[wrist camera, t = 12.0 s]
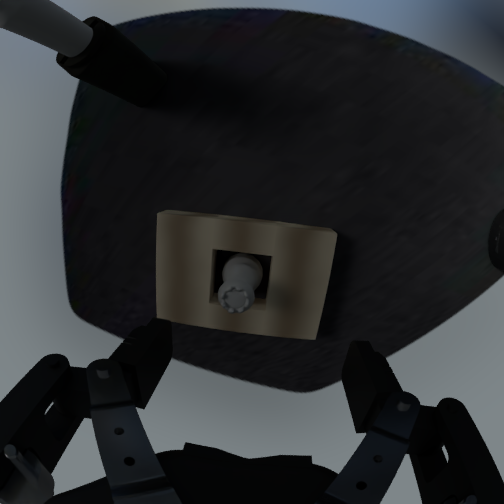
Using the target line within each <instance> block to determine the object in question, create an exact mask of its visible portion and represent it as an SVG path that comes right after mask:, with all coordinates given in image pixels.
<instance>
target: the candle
mask: <svg viewBox="0 0 504 504" xmlns="http://www.w3.org/2000/svg"><path fill="white" fill-rule="evenodd" d="M0 28H3V29H6V30H9V31H11V32H14V33H16V34H18V35H21V36H23V37H26V38H28V39H30V40H33V41H35V42H38V43H40V44H42V45H44V46H46V47H49V48H51V49H53V50H55V51H57V52H58V54H57V57H56V61H57V63H58V64H59V65H60V66H61V67H62V68H63V69H65V70H66V71H67V72H68V73H69V74H70V75H71V76H73V77H75V78H78V79H80V80H82V81H85V82H87V83H89V84H92V85H94V86H96V87H98V88H100V89H103V90H105V91H107V92H109V93H111V94H113V95H115V96H118V97H120V98H122V99H124V100H126V101H128V102H130V103H132V104H134V105H136V106H139V107H142V106H145V105H147V104H148V103H149V102H150V100H151V99H152V98H153V97H154V96H155V95H156V94H157V92H158V91H159V90H160V89H161V88H162V87H163V86H164V85H165V83H166V82H167V74H166V73H165V72H164V71H163V70H162V69H161V68H160V67H159V66H158V65H156V64H155V63H154V62H153V61H152V60H151V59H150V58H149V57H148V56H147V55H146V54H144V53H143V52H142V51H141V50H140V49H139V48H138V47H137V46H136V45H134V44H133V43H132V42H131V41H130V40H129V39H128V38H127V37H125V36H124V35H123V34H122V33H121V32H120V31H118V30H117V29H116V28H115V27H114V26H112V25H111V24H109V23H107V22H105V21H103V20H101V19H100V18H98V17H95V16H93V17H90V18H87V19H86V20H84V21H80V20H79V19H77V18H76V17H75V16H73V15H72V14H70V13H69V12H67V11H65V10H64V9H62V8H61V7H59V6H58V5H56V4H55V3H53V2H51V1H50V0H0Z"/></svg>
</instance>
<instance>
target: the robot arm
mask: <svg viewBox="0 0 504 504" xmlns="http://www.w3.org/2000/svg"><path fill="white" fill-rule="evenodd" d="M489 256H490V259H491V262H492V264H493V265H494V266H495V267H496V268H498V269H500V270H502V271H504V210H502V211H501V212H500V213H499V214H498V215H497V216H496V218H495V220H494V222H493V225H492V227H491V231H490V235H489ZM172 351H173V347H172V328H171V321H170V320H167V319H161V318H156V317H154V318H152V320H151V321H150V322H149V323H148V324H147V326H140V327H138V328H136V329H134V330H133V331H132V332H131V333H130V334H129V335H128V336H127V338H126V339H125V340H124V341H123V343H121V344H120V346H119V347H118V348H117V349H116V350H115V351H114V352H113V354H112V355H111V356H110V357H109V358H108V359H99V360H95V361H93V362H91V363H90V364H89V365H88V367H87V368H81V367H71V366H70V364H69V361H68V359H67V358H66V357H65V356H63V355H61V354H50V355H47V356H45V357H43V358H42V359H41V360H40V361H39V362H38V363H37V364H36V365H35V366H34V367H33V368H32V369H31V370H30V371H29V372H28V373H27V374H26V375H25V376H24V377H23V378H22V379H21V380H20V381H19V382H18V383H17V385H16V386H15V387H14V388H13V389H12V390H11V391H10V392H9V393H8V394H7V395H6V397H5V398H4V399H3V400H2V401H1V402H0V503H1V504H380V502H381V501H382V498H383V497H384V495H385V493H386V492H387V490H388V488H389V486H390V485H391V483H392V480H393V479H394V477H395V475H396V473H397V470H398V468H399V467H400V465H401V462H402V460H403V458H404V456H405V454H409V455H410V459H411V462H412V466H413V469H414V473H415V477H416V480H417V484H418V488H419V492H420V496H421V500H422V504H504V482H503V480H502V478H501V476H500V473H499V471H498V469H497V466H496V464H495V462H494V460H493V458H492V456H491V454H490V452H489V450H488V448H487V446H486V444H485V442H484V440H483V439H482V436H481V435H480V433H479V431H478V429H477V427H476V425H475V423H474V421H473V420H472V418H471V416H470V414H469V413H468V411H467V409H466V408H465V406H464V405H463V403H462V402H460V401H458V400H457V399H454V398H444V399H442V400H441V401H440V402H439V403H438V405H437V407H432V406H424V405H420V402H419V400H418V398H416V396H414V395H413V394H411V393H409V392H405V391H403V390H402V388H401V386H400V384H399V382H398V381H397V379H396V377H395V375H394V373H393V371H392V369H391V367H389V364H388V362H387V360H386V358H385V357H384V356H382V355H381V354H380V353H379V352H374V350H373V348H372V346H371V344H370V342H369V341H352V342H351V344H350V347H349V350H348V353H347V356H346V359H345V362H344V366H343V369H342V383H343V386H344V389H345V393H346V397H347V400H348V404H349V408H350V411H351V415H352V418H353V422H354V426H355V430H356V433H366V436H365V438H364V439H363V441H362V442H361V444H360V445H359V447H358V448H357V450H356V451H355V452H354V454H353V455H352V457H351V458H350V460H349V461H348V462H347V464H346V465H345V466H344V468H343V469H342V471H341V472H340V473H339V474H337V473H336V472H334V471H332V470H330V469H328V468H325V467H323V466H319V465H315V464H312V456H297V455H294V456H293V455H278V456H270V457H263V458H252V459H248V458H243V457H240V456H237V455H234V454H231V453H228V452H226V451H223V450H220V449H217V448H212V447H207V446H202V445H196V444H192V443H187V442H186V443H185V445H184V448H183V450H170V451H164V452H160V453H157V454H155V453H154V451H153V449H152V446H151V444H150V442H149V439H148V437H147V435H146V432H145V430H144V428H143V425H142V423H141V420H140V418H139V415H138V412H137V410H136V407H138V408H141V409H145V407H146V405H147V403H148V402H149V399H150V398H151V396H152V394H153V392H154V390H155V388H156V387H157V385H158V383H159V381H160V379H161V377H162V375H163V374H164V372H165V370H166V368H167V366H168V365H169V362H170V360H171V358H172ZM52 402H53V403H54V404H53V405H52V406H51V408H50V409H49V410H48V412H47V413H46V414H45V412H46V409H47V408H48V407H49V406H50V404H51V403H52ZM84 418H90V419H92V423H93V428H94V432H95V437H96V440H97V445H98V448H99V452H100V456H101V459H102V463H103V466H104V470H105V473H106V477H104V478H101V479H98V480H96V481H94V482H91V483H89V484H86V485H83V486H80V487H78V488H75V489H72V490H69V491H66V492H63V493H60V494H57V495H55V496H53V495H54V491H53V490H54V479H53V477H52V475H51V473H52V472H53V470H54V468H55V467H56V465H57V463H58V461H59V460H60V458H61V456H62V454H63V453H64V451H65V449H66V447H67V446H68V444H69V442H70V441H71V439H72V437H73V435H74V434H75V432H76V430H77V429H78V427H79V426H80V424H81V422H82V421H83V419H84ZM443 446H445V448H446V450H447V453H448V457H449V460H448V463H447V460H446V458H445V455H444V453H443V450H442V447H443Z"/></svg>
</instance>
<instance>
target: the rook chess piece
mask: <svg viewBox="0 0 504 504" xmlns="http://www.w3.org/2000/svg"><path fill="white" fill-rule="evenodd" d="M222 277H223V281H224V283H223V284H222V285H221V287H220V288H219V291H218V300H219V302H220V304H221V306H222V307H223V309H224V308H225V309H226V310H227V311H228V313H231V314H233V313H239V314H240V313H243V312H244V311H247V310H248V309H249V308H250V307H251V306H252V305H253V302H254V300H255V297H254V290H255V289H256V288H257V287H258V286H259V285H260V282H261V280H262V277H263V268H262V266H261V264H260V262H259V261H258V260H257V259H256V258H255V257H254V256H252V255H249V254H246V253H238V254H235V255H233V256H231V257H229V259H228V260H227V261H226V262H225V264H224V267H223V271H222Z"/></svg>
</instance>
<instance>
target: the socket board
mask: <svg viewBox="0 0 504 504" xmlns="http://www.w3.org/2000/svg"><path fill="white" fill-rule="evenodd" d="M336 240H337V233H336V232H334V231H333V230H332V229H330V228H323V227H315V226H308V225H300V224H293V223H285V222H277V221H269V220H260V219H252V218H243V217H234V216H225V215H216V214H206V213H196V212H185V211H174V210H166V211H163V212H160V213H158V215H157V242H156V299H157V318H161V319H167V320H170V321H172V322H178V323H183V324H189V325H195V326H201V327H207V328H214V329H220V330H227V331H235V332H242V333H250V334H259V335H268V336H277V337H287V338H298V339H311V340H315V339H316V335H317V331H318V327H319V323H320V318H321V314H322V310H323V305H324V301H325V296H326V292H327V287H328V282H329V277H330V272H331V267H332V262H333V256H334V251H335V245H336ZM217 249H219V250H227V251H235V252H243V253H252V254H260V255H268V256H272V258H271V265H270V273H269V280H268V287H267V295H266V299H259V298H255V300H254V302H253V305H252V306H251V307H250V308H249V309H248V310H247V311H244V312H243V313H240V314H239V313H233V314H231V313H228V311H227V310H226V309H225V308H224V309H223V307H222V306H221V304H220V302H219V300H218V293H214V287H215V273H216V259H217Z"/></svg>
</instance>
